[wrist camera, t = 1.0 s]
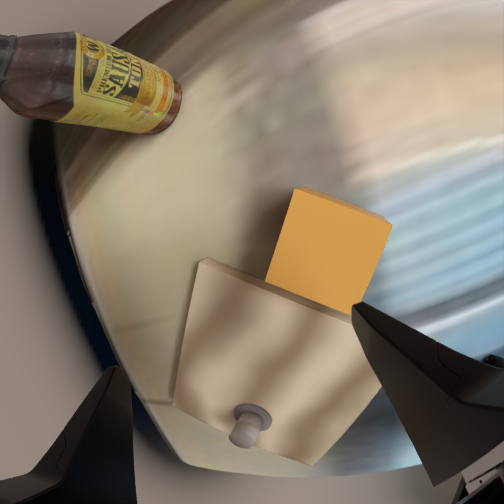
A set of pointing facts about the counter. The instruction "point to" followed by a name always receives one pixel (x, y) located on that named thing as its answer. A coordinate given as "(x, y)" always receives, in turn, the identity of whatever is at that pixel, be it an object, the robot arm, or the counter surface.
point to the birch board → (270, 365)
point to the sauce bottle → (85, 83)
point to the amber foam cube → (327, 249)
